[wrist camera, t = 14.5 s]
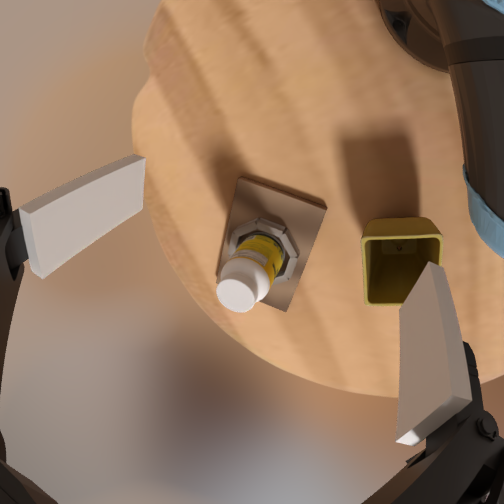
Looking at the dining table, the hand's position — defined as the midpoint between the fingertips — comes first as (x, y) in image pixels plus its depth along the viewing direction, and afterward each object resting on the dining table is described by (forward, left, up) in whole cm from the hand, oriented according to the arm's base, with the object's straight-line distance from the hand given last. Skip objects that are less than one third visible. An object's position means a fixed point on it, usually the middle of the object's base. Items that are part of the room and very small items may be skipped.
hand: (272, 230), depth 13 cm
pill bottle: (+18, -4, -26) cm, 32 cm away
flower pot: (+9, +12, -27) cm, 31 cm away
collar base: (+18, -4, -27) cm, 32 cm away
